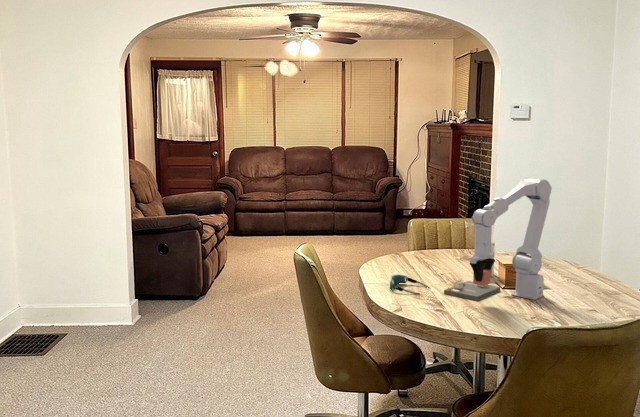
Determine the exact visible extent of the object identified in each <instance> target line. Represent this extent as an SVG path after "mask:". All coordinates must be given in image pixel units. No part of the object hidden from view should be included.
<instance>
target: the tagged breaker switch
mask: <svg viewBox="0 0 640 417" xmlns="http://www.w3.org/2000/svg"><path fill="white" fill-rule="evenodd" d="M463 282H464V281H462V279H459V280H455V281H453V282H452V283H453V285H452V287H453V288H456V289H460V288H463Z"/></svg>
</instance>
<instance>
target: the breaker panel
mask: <svg viewBox="0 0 640 417" xmlns="http://www.w3.org/2000/svg"><path fill="white" fill-rule="evenodd" d="M500 291H501V286H496V285H493V284H492V285H491V284H488V285H486V286H484V287H481V286H477V284H473V281H471V280H466V281H463V288H460V289H456V288H453V286H447V288H446V289H444V290H443V294H444V295H449V296H453V297H458V298H463V299H466V300H473V301H480V300H482V299H484V298H487V297H489V296H491V295H494V294H496V293H499V292H500Z"/></svg>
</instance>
